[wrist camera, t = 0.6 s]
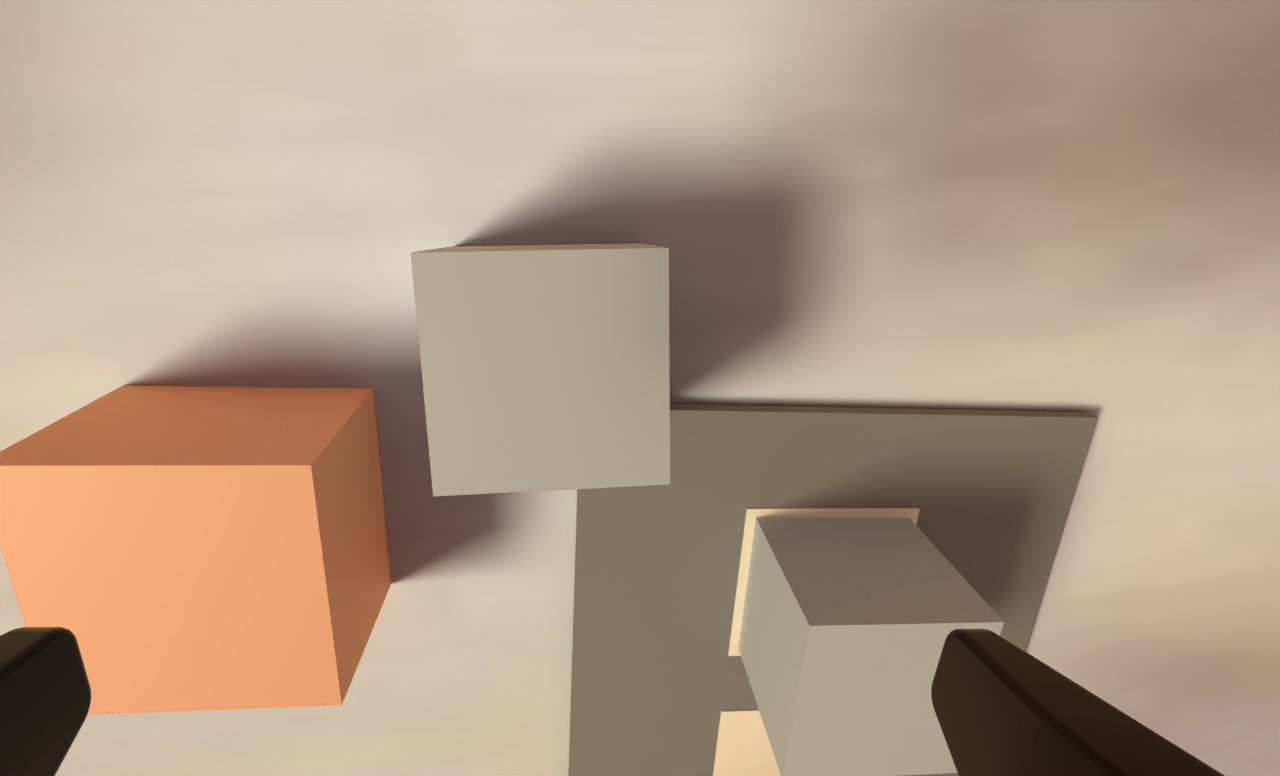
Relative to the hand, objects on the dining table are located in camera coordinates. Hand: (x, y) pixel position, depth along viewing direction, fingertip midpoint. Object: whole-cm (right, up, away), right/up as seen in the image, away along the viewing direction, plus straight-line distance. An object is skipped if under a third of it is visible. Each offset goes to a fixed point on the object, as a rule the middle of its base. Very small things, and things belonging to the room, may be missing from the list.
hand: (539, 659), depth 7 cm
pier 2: (+7, -4, +15) cm, 17 cm away
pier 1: (-1, +4, +12) cm, 12 cm away
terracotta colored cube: (-10, 0, +13) cm, 16 cm away
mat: (+7, -7, +17) cm, 19 cm away
